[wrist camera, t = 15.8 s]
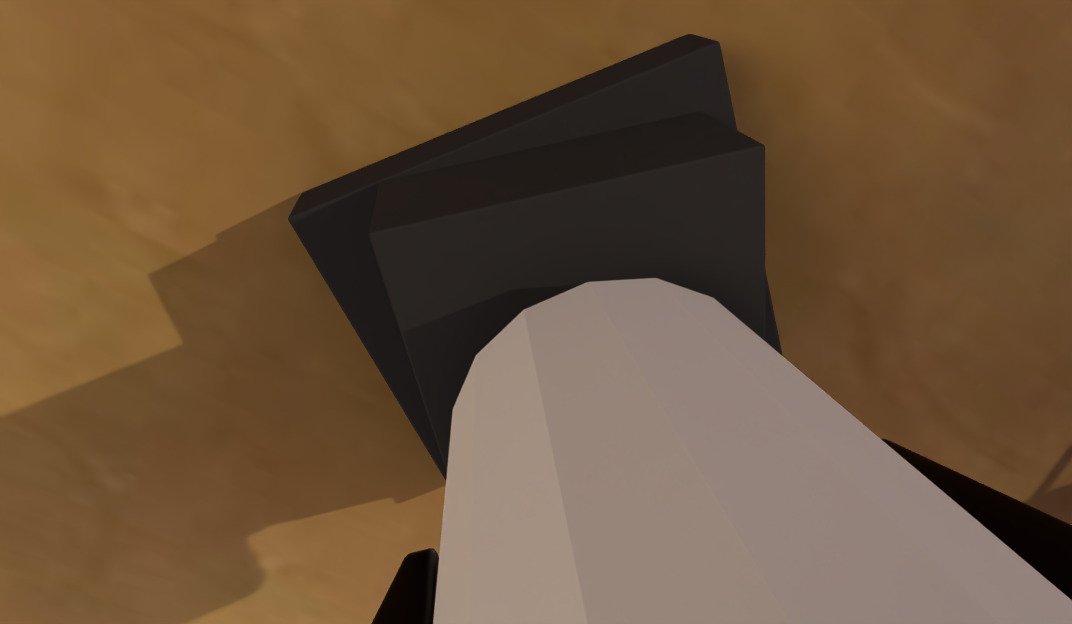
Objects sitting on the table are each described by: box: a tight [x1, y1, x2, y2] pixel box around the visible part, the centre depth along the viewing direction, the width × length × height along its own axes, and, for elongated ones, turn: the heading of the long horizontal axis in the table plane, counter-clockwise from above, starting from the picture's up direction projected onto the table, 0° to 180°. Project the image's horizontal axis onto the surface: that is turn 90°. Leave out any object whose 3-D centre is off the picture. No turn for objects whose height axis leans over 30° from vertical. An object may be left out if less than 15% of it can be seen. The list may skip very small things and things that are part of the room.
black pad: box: [369, 111, 765, 471], centre depth 13 cm, size 8×6×3 cm
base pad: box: [288, 34, 782, 480], centre depth 15 cm, size 9×9×2 cm
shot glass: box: [433, 278, 1072, 624], centre depth 8 cm, size 7×7×7 cm
